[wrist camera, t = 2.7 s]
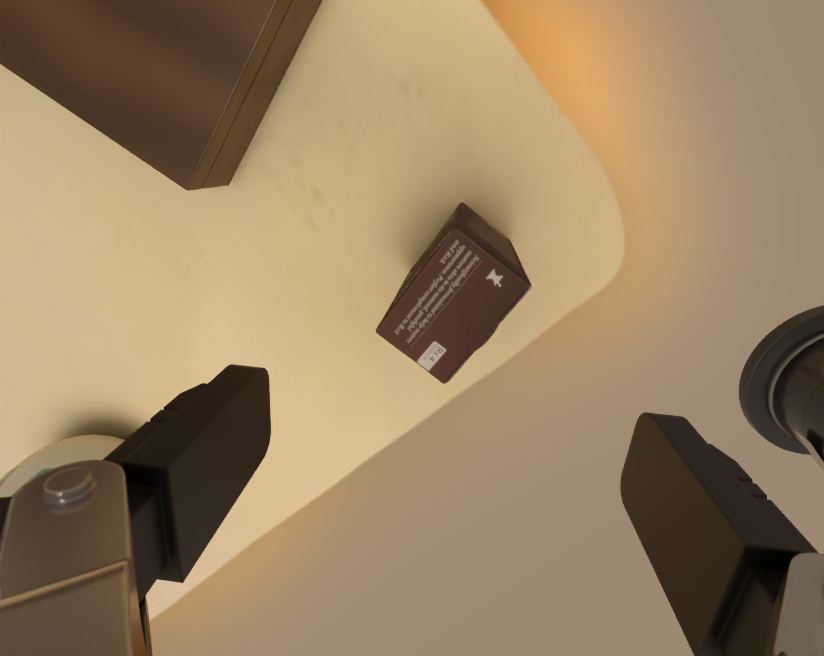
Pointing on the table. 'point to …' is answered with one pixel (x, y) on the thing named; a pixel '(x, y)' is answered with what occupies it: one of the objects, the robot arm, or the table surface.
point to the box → (455, 295)
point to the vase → (57, 459)
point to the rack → (160, 72)
